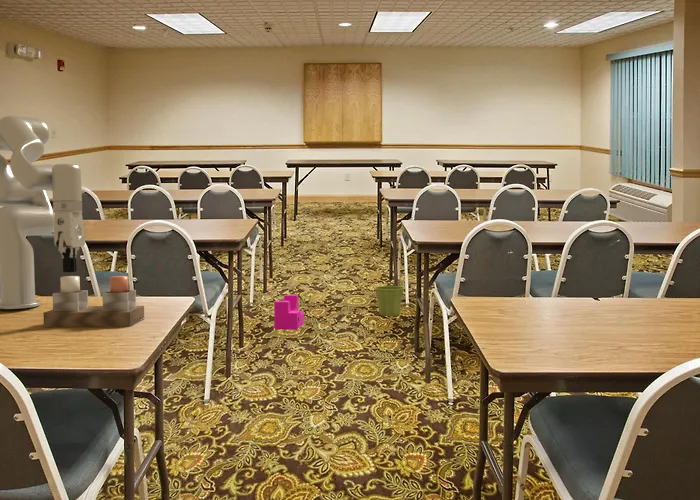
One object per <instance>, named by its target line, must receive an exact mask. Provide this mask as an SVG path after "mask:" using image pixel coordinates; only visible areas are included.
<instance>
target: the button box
mask: <svg viewBox="0 0 700 500" xmlns="http://www.w3.org/2000/svg"><path fill="white" fill-rule="evenodd" d="M101 296H102V305H89V290H87V289H86V290H85V289H84V290H83V289H82V290H81V289H80V292H78V293H61V290H60V291H57V292H53V293H52V309H50V310H47V311H45V312H43V327H45V328H72V327H73V328H75V327H76V328H82V327H83V328H92V327H95V328H97V327H101V328H102V327H103V328H104V327H109V328H111V327H115V328H116V327H117V328H119V327H132V326H134V325H136V324H138V323H139V321H140V320H141V319H143V318H144V319H145V305H137V290H136V289H129V292H127V293H110V290H108V291H105V292H103V293H102V295H101ZM144 319H143V320H144ZM140 322H141V321H140Z"/></svg>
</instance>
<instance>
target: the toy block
mask: <svg viewBox="0 0 700 500" xmlns="http://www.w3.org/2000/svg"><path fill="white" fill-rule="evenodd" d="M273 303H274V309H273V310H274V330H280V331H281V330H287V331H288V330H290V331H291V330H293V331H298V330H299V329H300V328H301V326H303V325H304V324H305V311H304V310H299V294H284V296H283V300H275V301H274V302H273Z"/></svg>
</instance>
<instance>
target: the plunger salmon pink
mask: <svg viewBox="0 0 700 500" xmlns="http://www.w3.org/2000/svg"><path fill="white" fill-rule="evenodd" d="M129 290H130V287H129V276H128V275H113V276H109V291H110V293H127V292H129Z"/></svg>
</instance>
